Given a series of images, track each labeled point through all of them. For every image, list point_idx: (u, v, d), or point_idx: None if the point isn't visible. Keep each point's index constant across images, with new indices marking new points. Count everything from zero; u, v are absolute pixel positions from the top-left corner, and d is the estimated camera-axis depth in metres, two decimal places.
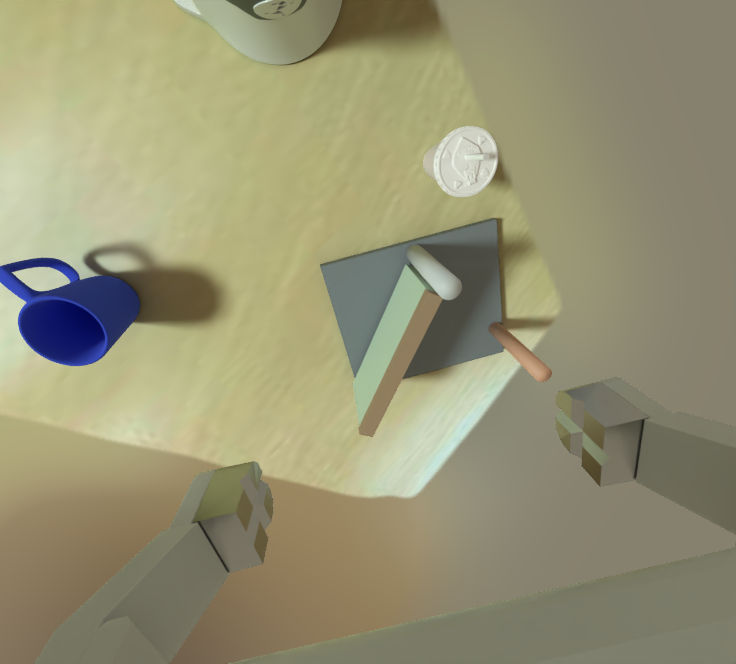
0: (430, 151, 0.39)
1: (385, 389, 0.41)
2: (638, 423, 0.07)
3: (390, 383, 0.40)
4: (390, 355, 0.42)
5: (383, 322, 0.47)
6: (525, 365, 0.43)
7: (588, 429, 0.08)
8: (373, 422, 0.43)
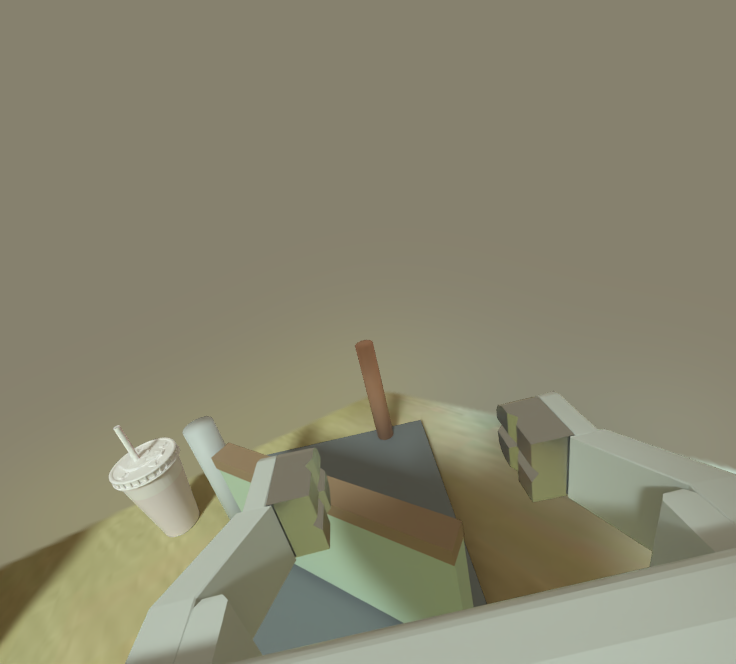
0: (150, 518, 0.36)
1: (340, 499, 0.22)
2: (566, 439, 0.07)
3: (330, 491, 0.22)
4: None
5: (322, 570, 0.27)
6: (367, 366, 0.38)
7: (520, 444, 0.08)
8: (418, 519, 0.19)
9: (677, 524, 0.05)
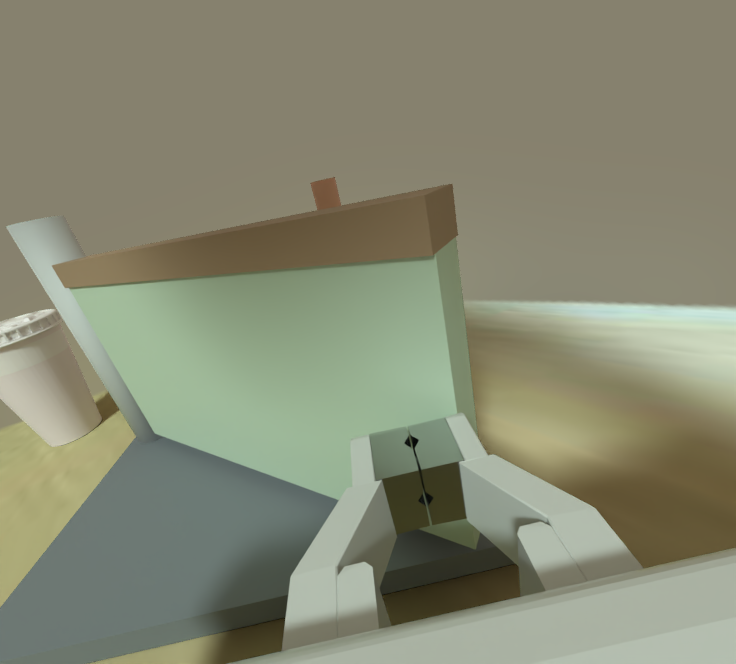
0: (19, 416, 0.26)
1: (214, 233, 0.11)
2: (459, 464, 0.07)
3: (204, 234, 0.12)
4: (180, 309, 0.13)
5: (229, 442, 0.17)
6: None
7: (419, 468, 0.08)
8: (354, 204, 0.09)
9: (526, 559, 0.05)
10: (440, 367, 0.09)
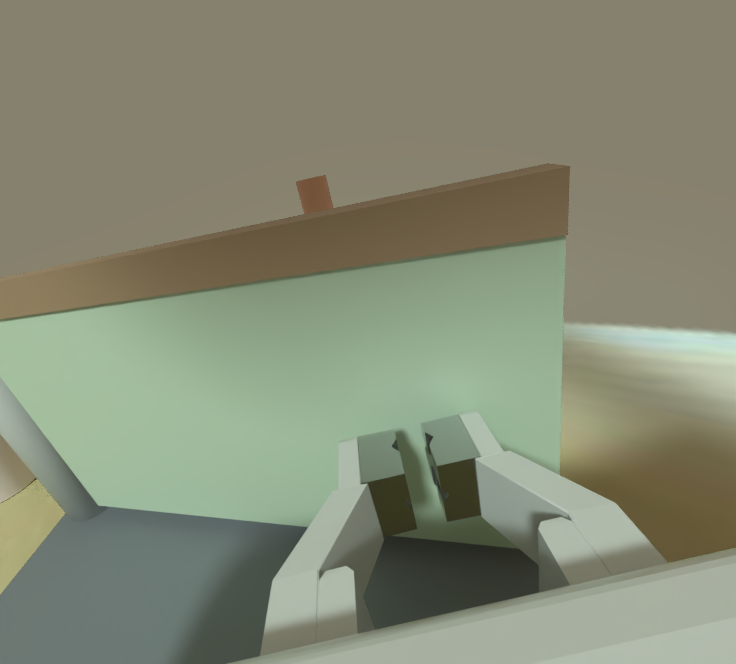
0: None
1: (237, 231, 0.09)
2: (474, 460, 0.07)
3: (214, 235, 0.09)
4: (170, 334, 0.10)
5: (227, 495, 0.14)
6: None
7: (433, 464, 0.08)
8: (442, 187, 0.08)
9: (548, 554, 0.05)
10: (548, 360, 0.08)
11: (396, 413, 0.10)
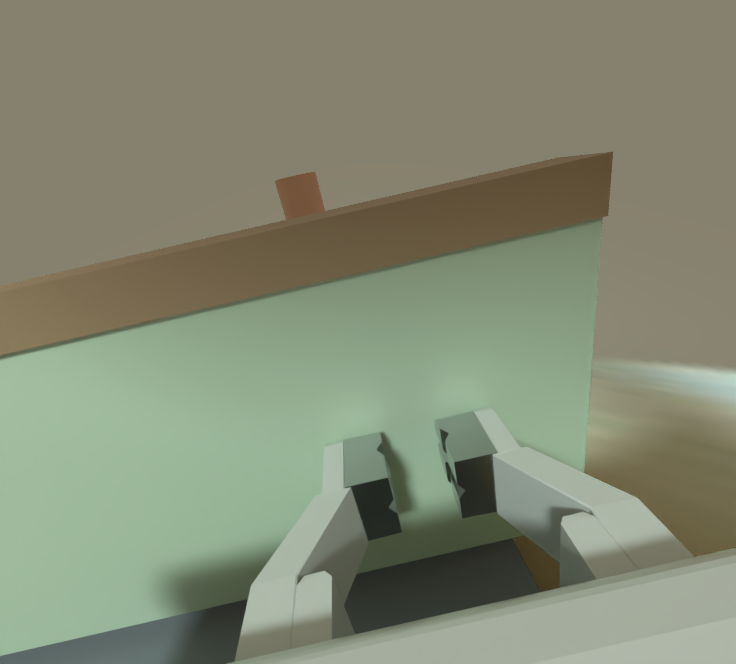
0: None
1: (248, 232, 0.07)
2: (490, 457, 0.07)
3: (208, 241, 0.07)
4: (141, 377, 0.08)
5: (215, 576, 0.11)
6: None
7: (449, 460, 0.08)
8: (479, 178, 0.08)
9: (571, 548, 0.05)
10: (582, 337, 0.08)
11: None
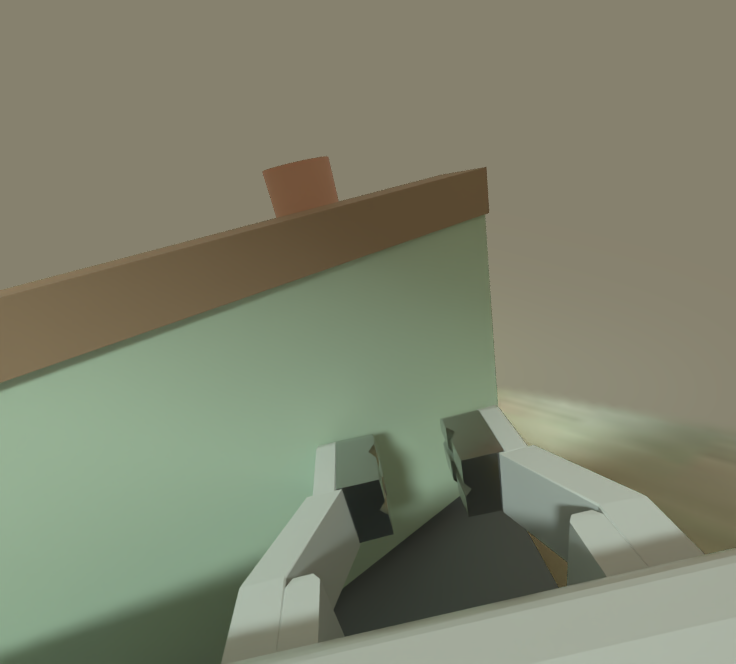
0: None
1: (207, 239, 0.07)
2: (497, 455, 0.07)
3: (153, 253, 0.07)
4: (75, 429, 0.06)
5: None
6: None
7: (455, 459, 0.08)
8: (398, 187, 0.09)
9: (581, 546, 0.05)
10: (484, 307, 0.11)
11: (396, 401, 0.10)
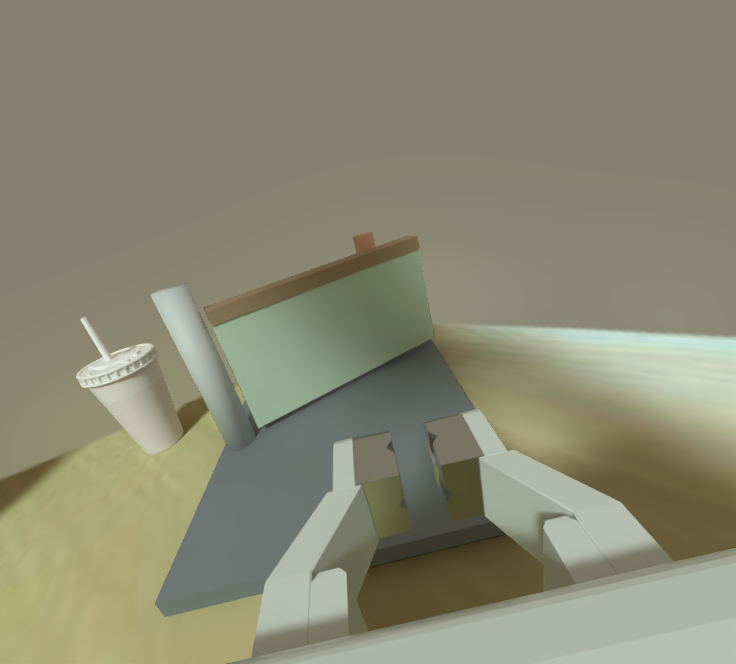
0: (126, 430, 0.32)
1: (350, 258, 0.31)
2: (478, 460, 0.07)
3: (339, 261, 0.30)
4: (326, 297, 0.30)
5: (337, 372, 0.32)
6: None
7: (436, 463, 0.08)
8: (392, 242, 0.33)
9: (553, 552, 0.05)
10: (421, 277, 0.35)
11: (393, 304, 0.34)
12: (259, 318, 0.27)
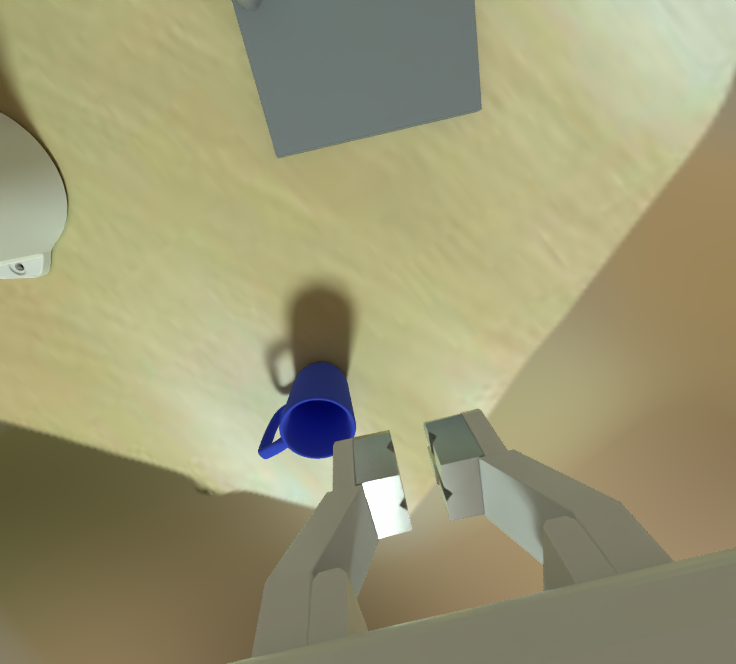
0: None
1: None
2: (478, 460, 0.07)
3: None
4: None
5: None
6: None
7: (436, 463, 0.08)
8: None
9: (553, 552, 0.05)
10: None
11: None
12: None
